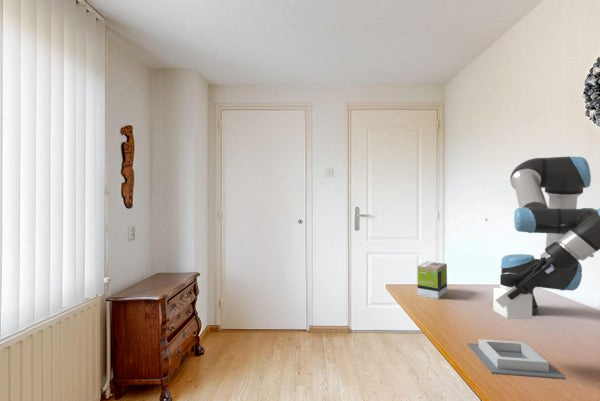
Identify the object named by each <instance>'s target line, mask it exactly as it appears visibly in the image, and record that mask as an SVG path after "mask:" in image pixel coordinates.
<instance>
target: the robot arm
mask: <svg viewBox="0 0 600 401" xmlns="http://www.w3.org/2000/svg"><path fill="white" fill-rule="evenodd" d="M509 179H510V180H509V181H510V185H511V186H512V188H513V189H514V190H515V193H516V198H517V203H518V208H516V209H515V210H514V217H513V218H514V219H513V220H514V229H515V230H516V231H517V232H521V233H529V234H546V240H545V248H544V252H542V253H541V254H540V258H535V256H534V255H533V254H523V253H518V254H516V253H515V254H508V255H505V256H503V257H501V265H500V268H501V271H500V273H501V274H503V273H515V274H520V275H522V276H524V278H525V279H524V280H523V281H522V282H521V283H520V284H518V285H517V284H514V287H512V288H511V289H510V290H508V291H507V292H505V293H504V294H503V295H501V296H500V297H498V298H497V299H495V300H496V301H497V302H498V303H499V304H500V305H501V306H502V307H503V308H504V307H505V306H507V305H508V304H510V303H511V302H513V301H514V300H516V299H517V298H519V297H520V296H521V295H523V294H525V295H526V294H528V293H530V294H532V316H534V315H537V314H539V306H538V303H537V300H536V298H535V295H534V289H535V288H540V289H541V288H542V289H552V290H560V291H572V292H573V291H575V290H577V289H578V288H579V287H580V284H581V281H582V278H583V267H582V263H580V261H585V260H586V259H588V258H594V257H595V253H596V252H598V251H599V250H600V207H599V208H598V209H595V208H592V207H582V208H577V204H578V197H579V196H581V195H583V193H584V189H586V188H589V187H590V186H591V182H592V180H591V179H592V177H591V169H590V165H589V163H588V161H587V159H586V158H585V157H583V156H554V157H553V156H552V157H535V158H531V159H527V160H525V161H523V162H521V163H519V164H518V165H517V166H516V167H515V168H514V169H513V170H512V172H511V174H510V178H509ZM542 188H544V191H543V190H542ZM544 192H545V193H546V194H547V195H548V203H547V199H546V198H545V195H544ZM501 274H500V275H501ZM500 288H502V287H500Z"/></svg>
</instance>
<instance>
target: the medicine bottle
mask: <svg viewBox="0 0 600 401" xmlns="http://www.w3.org/2000/svg"><path fill="white" fill-rule="evenodd" d="M524 279H525V278H524V276H522V275H520V274H515V273H503V274H500V282H499V283H500V285H499V287H494V288H493V297H492V298H493V302H492V305H493V306H492V308H493V309H492V310H493V312H495V313H496V314H498V315H500V316H502V317H503V318H505V319H507V320H532V319H533V315H532V294H530V293H528V294H526V295H525V294H523V295H521V296H520V297H519V298H517V299H516V300H514V301H513V302H511V303H510V304H508V305H507V306H505V307H504V308H503V307H502V306H501V305H500V304H499V303H498V302H497V301H496V300H495V299H497V298H498V297H500V296H501V295H503V294H504V293H505V292H507V291H508V290H510V289H511V288H512V287H514V284H517V285H518V284H520V283H521V282H522V281H523V280H524ZM501 287H502V288H501Z"/></svg>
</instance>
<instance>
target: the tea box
mask: <svg viewBox="0 0 600 401" xmlns="http://www.w3.org/2000/svg"><path fill="white" fill-rule="evenodd" d="M447 268H448V266H447V263H445V262H444V263H442V262H435V261H434V262H433V261H426V262H425V261H424V262H423V263H422V264H419V265H417V296H420V297H426V298H430V299H435V298H436V299H437V300H438V299H440V298H441V297H442V296H444V295H445V294H446V293H447V292H448V271H447Z"/></svg>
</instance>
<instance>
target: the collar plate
mask: <svg viewBox="0 0 600 401" xmlns="http://www.w3.org/2000/svg"><path fill="white" fill-rule="evenodd" d="M466 345H467V346H468V347H469V348H470V350H471V351H472V352H473V353H474V354H475V356H476V357H477V358H478V360H480V361H481V362H482V363H483V365H484V366H485V367H486V369H487V370H488V371H489V372H490V374H493V375H505V376H506V375H508V376H519V377H520V376H521V377H531V378H533V377H534V378H545V379H548V378H549V379H557V378H559V380H566V377H565V376H564V375H563V374H561V373H560V372H559V371H558V370H556V369H555V368H554V367H553V366H551V365H550V363H549V361H548V360H547V359H545V358H544V357H542V355H540V354H539V353H537V351H535V350H534V349H533V348H532V347H530V346H529V345H528V344H526V343H525V342H524V341H515V340H513V341H511V340H498V339H495V340H494V339H483V338H481V339H480V338H479V339H478V343H470V342H467V343H466Z"/></svg>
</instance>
